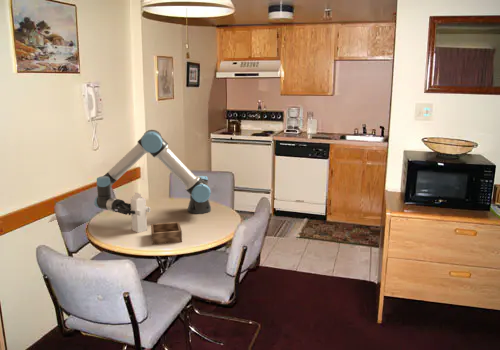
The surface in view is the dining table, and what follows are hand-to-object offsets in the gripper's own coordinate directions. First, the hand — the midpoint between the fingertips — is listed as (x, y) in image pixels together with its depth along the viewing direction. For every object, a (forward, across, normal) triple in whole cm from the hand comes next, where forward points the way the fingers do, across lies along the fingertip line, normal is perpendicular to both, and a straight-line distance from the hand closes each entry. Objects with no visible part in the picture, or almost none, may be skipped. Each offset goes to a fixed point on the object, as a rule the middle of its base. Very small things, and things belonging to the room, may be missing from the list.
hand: (145, 211), depth 236 cm
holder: (+16, +1, -12) cm, 20 cm away
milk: (-5, 0, -12) cm, 13 cm away
